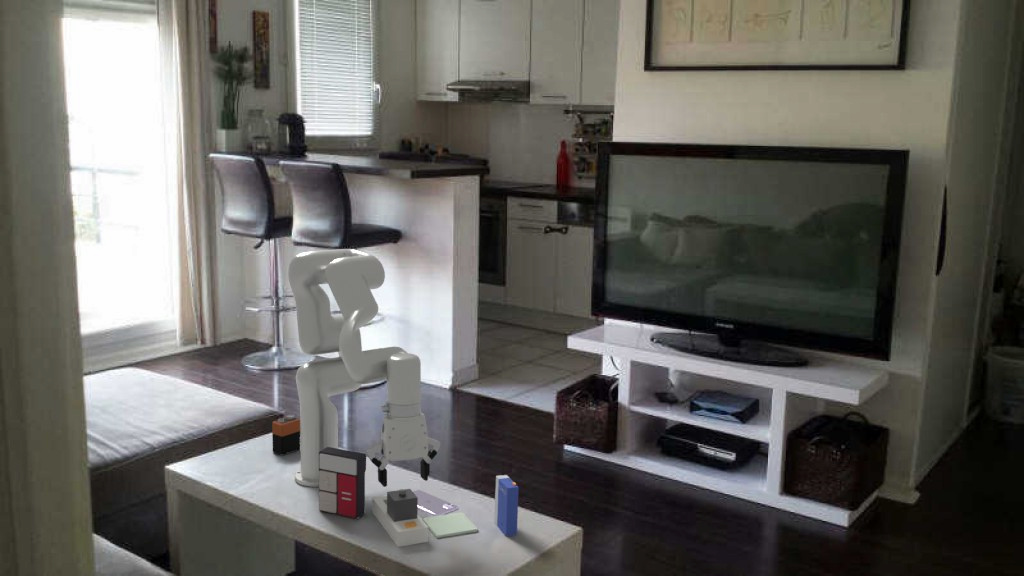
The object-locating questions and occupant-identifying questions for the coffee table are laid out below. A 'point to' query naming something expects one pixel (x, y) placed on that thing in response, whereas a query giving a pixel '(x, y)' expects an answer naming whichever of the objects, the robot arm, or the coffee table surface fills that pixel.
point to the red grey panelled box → (342, 482)
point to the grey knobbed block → (402, 505)
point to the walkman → (506, 505)
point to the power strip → (400, 525)
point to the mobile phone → (433, 504)
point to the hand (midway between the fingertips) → (404, 481)
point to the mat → (449, 525)
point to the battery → (286, 435)
